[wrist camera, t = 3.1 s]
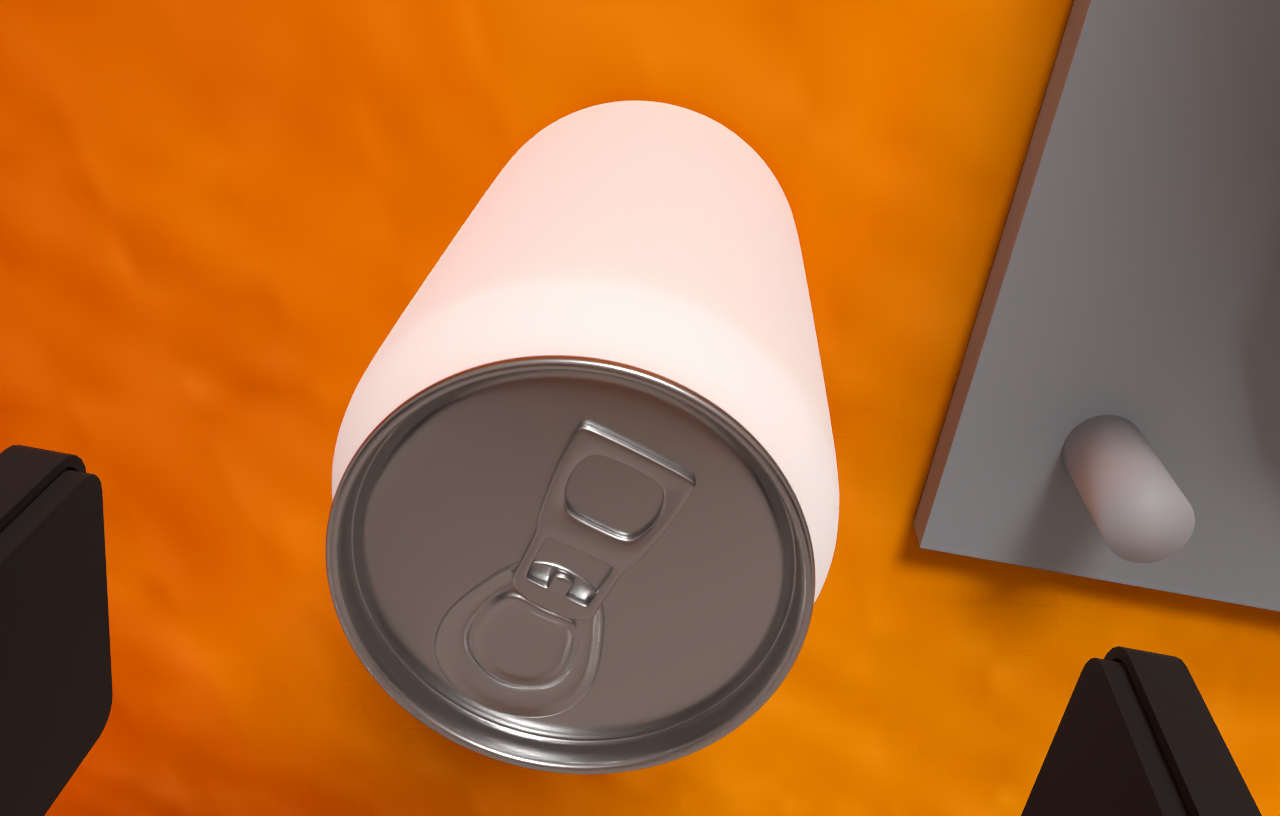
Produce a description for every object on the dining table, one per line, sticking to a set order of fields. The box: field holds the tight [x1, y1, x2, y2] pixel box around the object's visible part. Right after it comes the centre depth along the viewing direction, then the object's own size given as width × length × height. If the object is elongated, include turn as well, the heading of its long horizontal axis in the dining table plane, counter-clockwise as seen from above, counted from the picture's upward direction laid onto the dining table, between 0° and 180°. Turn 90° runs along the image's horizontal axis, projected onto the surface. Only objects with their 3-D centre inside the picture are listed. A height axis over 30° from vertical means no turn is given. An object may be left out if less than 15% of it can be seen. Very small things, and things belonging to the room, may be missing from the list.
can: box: [326, 101, 839, 774], centre depth 19 cm, size 6×6×12 cm
